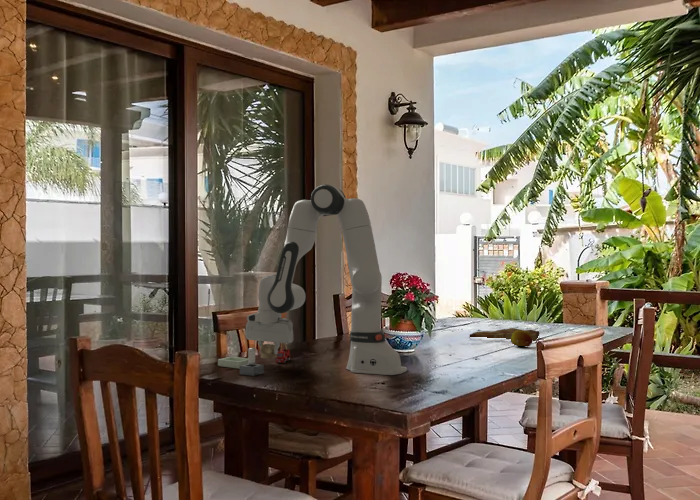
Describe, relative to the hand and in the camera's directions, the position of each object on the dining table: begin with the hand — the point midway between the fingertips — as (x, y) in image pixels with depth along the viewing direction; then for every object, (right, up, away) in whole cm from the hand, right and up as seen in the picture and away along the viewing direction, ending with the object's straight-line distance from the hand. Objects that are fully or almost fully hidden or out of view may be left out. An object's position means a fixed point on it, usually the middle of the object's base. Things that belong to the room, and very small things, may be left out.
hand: (268, 353), depth 268 cm
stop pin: (-4, -4, -20) cm, 21 cm away
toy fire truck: (+5, -5, +9) cm, 12 cm away
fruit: (+110, -6, +54) cm, 123 cm away
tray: (-12, -4, -4) cm, 14 cm away
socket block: (-4, -4, -20) cm, 21 cm away
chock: (0, -2, 0) cm, 2 cm away
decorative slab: (+109, -6, +84) cm, 138 cm away
